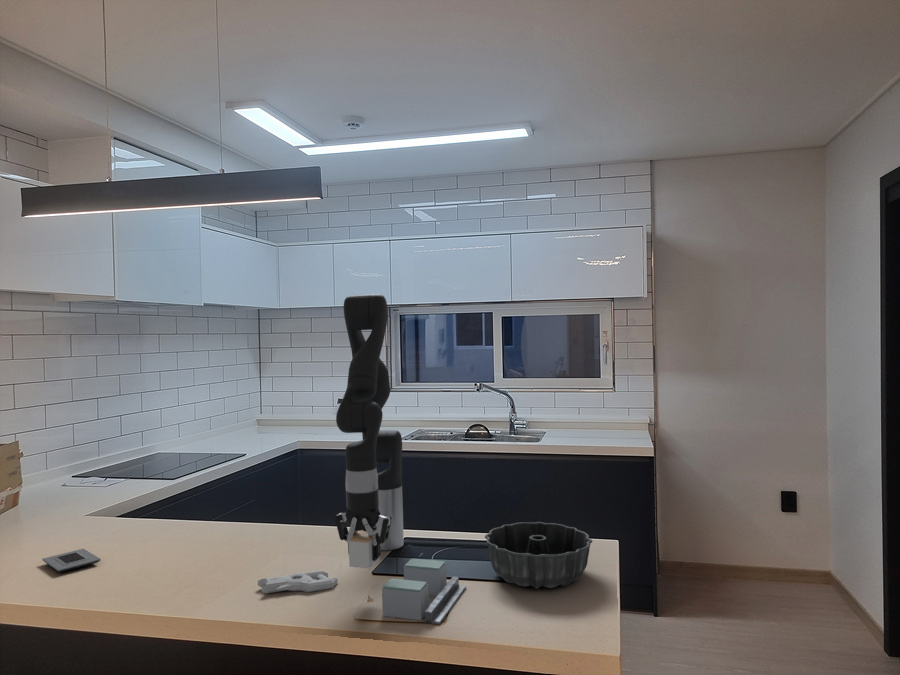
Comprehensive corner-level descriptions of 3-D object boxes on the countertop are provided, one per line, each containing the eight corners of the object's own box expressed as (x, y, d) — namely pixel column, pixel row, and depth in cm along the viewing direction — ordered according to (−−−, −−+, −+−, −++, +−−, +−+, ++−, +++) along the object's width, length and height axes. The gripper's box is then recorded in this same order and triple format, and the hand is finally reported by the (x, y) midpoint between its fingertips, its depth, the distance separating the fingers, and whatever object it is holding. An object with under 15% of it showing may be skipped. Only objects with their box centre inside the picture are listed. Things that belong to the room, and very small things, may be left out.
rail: (453, 586, 163) (452, 576, 163) (465, 588, 162) (465, 577, 162) (425, 623, 144) (424, 611, 144) (439, 624, 143) (439, 613, 143)
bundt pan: (567, 553, 184) (567, 517, 184) (611, 590, 158) (610, 548, 158) (474, 563, 179) (473, 525, 178) (503, 603, 153) (502, 560, 153)
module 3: (391, 606, 153) (390, 577, 152) (428, 610, 150) (428, 581, 150) (382, 615, 148) (381, 586, 148) (421, 620, 145) (420, 590, 145)
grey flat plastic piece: (265, 588, 156) (256, 574, 165) (265, 602, 156) (256, 588, 165) (340, 576, 165) (328, 564, 174) (340, 591, 165) (328, 578, 174)
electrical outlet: (42, 566, 185) (42, 557, 185) (83, 555, 193) (83, 547, 193) (58, 578, 176) (58, 569, 176) (101, 566, 184) (100, 557, 184)
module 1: (360, 557, 162) (359, 530, 161) (379, 558, 160) (378, 532, 160) (349, 566, 156) (348, 539, 156) (369, 568, 154) (368, 540, 154)
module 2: (411, 584, 165) (411, 558, 165) (446, 587, 162) (446, 561, 162) (404, 592, 160) (403, 565, 160) (440, 596, 157) (439, 568, 157)
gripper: (396, 484, 159) (398, 555, 159) (341, 481, 163) (344, 550, 164) (384, 493, 151) (386, 567, 152) (326, 489, 156) (329, 561, 157)
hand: (364, 558), depth 158 cm, fingers closed on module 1, 5 cm apart
